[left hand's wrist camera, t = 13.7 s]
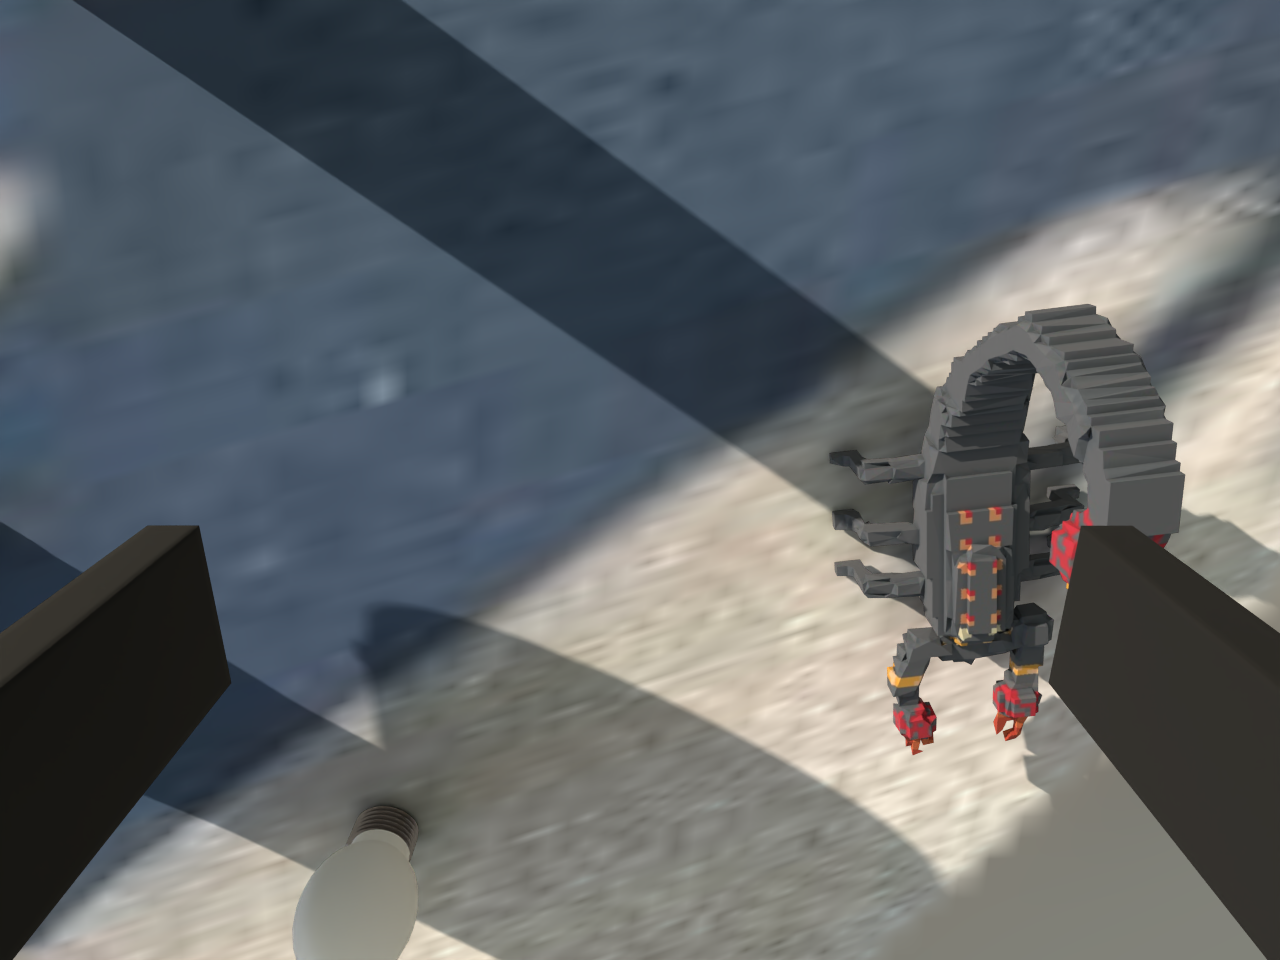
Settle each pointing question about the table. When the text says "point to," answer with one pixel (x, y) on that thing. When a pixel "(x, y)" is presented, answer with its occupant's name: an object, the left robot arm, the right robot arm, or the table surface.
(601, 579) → the table surface
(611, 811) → the table surface
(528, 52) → the table surface
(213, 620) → the left robot arm
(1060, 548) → the toy
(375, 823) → the light bulb
